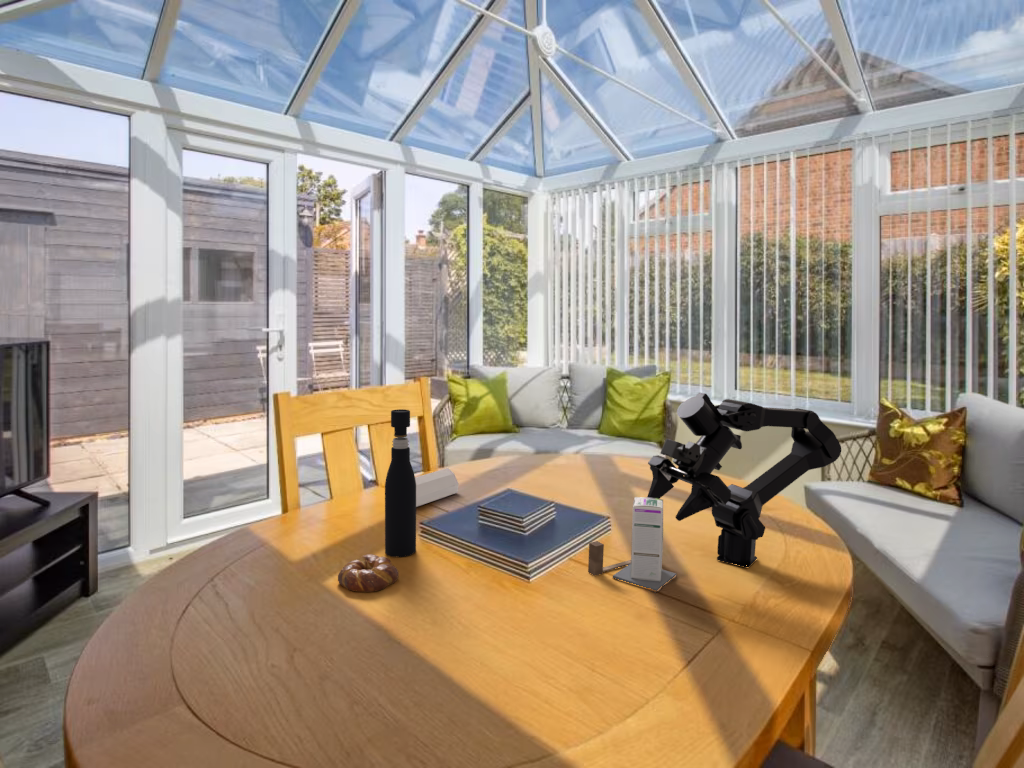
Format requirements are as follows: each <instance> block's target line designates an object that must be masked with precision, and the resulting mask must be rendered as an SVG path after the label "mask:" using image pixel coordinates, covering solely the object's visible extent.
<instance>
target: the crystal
mask: <svg viewBox="0 0 1024 768" xmlns="http://www.w3.org/2000/svg"><path fill="white" fill-rule="evenodd" d="M415 481H416V508H417V507H420V506H423V505H425V504H428V503H431V502H434V501H438V500H441V499H444V498H447V497H448V496H451V495H454V494H455V495H456V494H457V493H459V481H458V479H457V477H456V474H455V473H454V472H453V471H452V470H451V469H450V468H449V467H446V468H444V469H439V470H436V471H433V472H429V473H425V474H423V475H419V476H415Z"/></svg>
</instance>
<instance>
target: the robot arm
mask: <svg viewBox="0 0 1024 768" xmlns="http://www.w3.org/2000/svg"><path fill="white" fill-rule="evenodd" d="M676 414H677V416H678V417H679V419H680V420H681V421H682V422H683V424H685V426H686V427H687V428H688V429H689V431H690V432H691V433H692V434H693V435H694V436H697V437H700V438H699V439H698V440H697V441H696V442H692V441H687V443H682V442H679V441H676V440H672V439H669V438H665V441H664V443H663V446H662V448H661V451H660V455H658V454H657V455H653V456H652V457H651V458H650V460H649V461H648V462H647V465H649V470H650V471H651V472H652V480H651V484H650V488H649V490H648V493H647V496H646V497H649V498H657V499H662V498H663V496H665V495H666V494H667V493H668V492H670V490H672V489H673V488H675V486H674V485H673V484H675V483H677V482H679V481H682V482H685V483H688V484H690V485H691V491H690V494H689V495H688V497H687V498H686V500H685V501H684V503H683V504H682V505H681V506H680V508H679V509H678V511H677V514H676V515H675V519H676V520H677V522H681V521H682V520H684V519H688V518H689V517H691V516H693V515H695V514H697V513H700V512H702V511H705V510H708V509H710V508H711V515H712V517H713V519H714V522H715V523H714V524H715V527H718V528H721V530H720V535H718V537H717V550H716V551H717V552H716V553H717V555H718V556H717V557H716V561H718V560H720V561H719V562H722V561H724V562H723V563H726V562H728V563H727V564H729V563H733V564H737V565H740V566H744V567H749V566H750V565H751V564H752V563H753V562H754V561H755V560H756V559H757V560H758V557H757V555H756V543H757V540H758V539H759V538H763V537H764V533H765V532H766V526H765V525H764V524H763V522H762V521H761V520H760V517H761V513H762V511H763V510H762V509H763V506H764V505H766V504H767V503H768V502H769V501H771V500H772V499H773V498H774V497H776V496H777V495H778V494H780V493H781V492H782V491H784V490H785V489H786V488H788V487H789V486H790V485H791V484H793V482H796V481H797V480H798V479H799V478H800V477H802V476H803V475H804V474H805V473H807V472H809V471H811V470H815V469H821V468H825V467H827V466H829V465H831V464H833V463H834V462H836V461H837V460H838V459H839V458H840V456H841V453H842V445H841V443H840V441H839V439H838V437H836V436H837V435H836V434H835V433H834V431H833V430H832V429H830V428H829V426H827V425H826V424H825V423H824V422H822V420H821V418H820V417H819V415H818V414H817V413H816V412H815V411H813V410H810V409H805V408H799V407H797V408H794V409H793V408H778V407H766V406H761V405H759V404H755V403H753V402H752V403H751V402H746V401H741V400H736V399H730V398H726V399H723V400H722V402H721V403H720V404H718V405H715V404H714V403H713V402H712V401H711V399H710V396H709V395H708V394H707V393H705V392H704V393H703V392H698V393H697V394H696V395H695V396H692V397H689V398H687V399H686V400H684V401H682V402H681V403H680V405H678V407H677V410H676ZM764 427H775V428H776V427H777V428H782V427H783V428H791V435H790V436H791V439H792V440H793V442H792V446H791V450H790V453H788V455H786V456H785V457H784V458H781V460H779V461H778V462H777V463H776V464H774V465H773V466H772V467H770V468H768V469H767V470H766V471H765V472H763V473H762V474H761V475H760V476H758V477H756V478H755V479H754V480H753V481H751V482H750V483H749V484H748V485H746V486H744V487H741V486H738V485H735V484H733V483H732V484H730V485H728V486H727V484H726V483H725V482H724V480H722V479H721V477H720V476H719V475H716V474H713V471H714V470H717V471H720V470H721V469H722V468H723V466H722V465H721V463H720V462H721V461H722V460H723V458H724V457H725V456H726V455H727V453H728V452H729V450H730V449H731V448H733V449H738V450H742V449H743V444H742V439H741V437H742V436H741V435H740V434H737V433H734V432H733V431H732V429H734V430H738V431H743V432H751V431H752V432H753V431H757V430H760V429H762V428H764ZM806 430H808V431H806ZM662 455H663V456H662ZM665 456H666V457H665ZM667 457H670V458H672V459H673V460H672V461H671V460H670V459H669V458H667ZM674 464H675V465H674ZM676 466H677V467H676ZM757 560H756V561H757ZM756 561H755V562H756ZM755 562H754V563H755ZM754 563H753V564H754ZM733 564H732V565H733ZM753 564H752V565H753ZM737 565H736V566H737ZM746 565H747V566H746ZM752 565H751V566H752ZM740 566H739V567H740ZM751 566H750V567H751ZM744 567H743V568H744ZM750 567H749V568H750Z"/></svg>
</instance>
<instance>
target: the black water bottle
mask: <svg viewBox="0 0 1024 768" xmlns="http://www.w3.org/2000/svg"><path fill="white" fill-rule="evenodd" d="M390 427H391V428H394V432H393V436H394V438H393V439H392V447H391V451H390V453H391V458H390V459H391V460H390V463H389V466H388V470H387V473H386V476H385V483H384V552H385V554H386V555H387V556H388V557H392V558H405V557H409V556H412V555H414V554H415V553H416V551H417V507H416V481H415V477H416V476H415V471H414V469H413V466H412V463H411V459H410V456H411V451H410V450H411V448H410V446H409V442H410V441H409V438H408V437H407V436H408V434H407V433H408V428H410V427H411V411H410V410H409V409H404V408H403V409H391V411H390Z"/></svg>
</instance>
